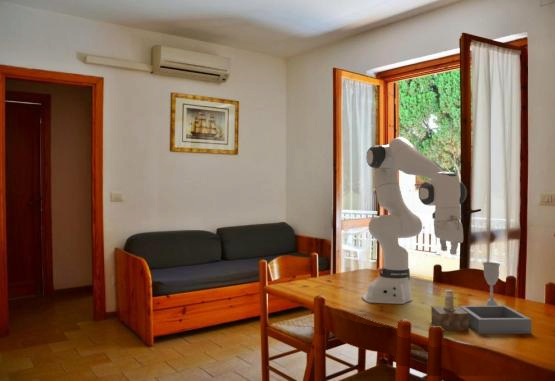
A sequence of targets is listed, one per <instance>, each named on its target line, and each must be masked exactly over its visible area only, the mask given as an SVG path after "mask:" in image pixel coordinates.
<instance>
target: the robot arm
mask: <svg viewBox="0 0 555 381" xmlns="http://www.w3.org/2000/svg"><path fill="white" fill-rule="evenodd" d="M365 159H366V162H367V164H368V166H369V167H370V168H374V169H375V170H374V187H375V192H376V197H377V202H378V205H379V206H380V207H381V208H382V209H384V210H386V211H387V212H388V213H389V214H380V215H376V216H373V217H372V218H371V219H370V220H369V223H368V230H369V231H368V232H369V233H370V235H371V236H372V237H373V238H374V239H375V240H376V241H377V243H379V245H380V247H381V251H382V255H383V257H382V258H383V267H382V268H381V267H377V269H376V271H377V272H378V274H379V275H378V276H377V277H376V278H375V279H374V280H372V281H371V282H370V283H369V284H368V286H367V291H366V293H363V294H362V300H363V301H365V302H366V303H373V304H375V303H376V304H395V305H397V304H398V305H403V304H406V303H409V302H412V301H413V295H412V292H411V285H410V278H411V270H410V268H409V252H408V251H407V249H406V248H404V247H403V246H401V245H400V244H399V240H398V239H403V238H404V239H407V238H413V237H417V236H419V235H420V234H421V232H422V230H423V222H422V220H421V219H420V217H419V216H417V215H416V214H415V213H414V212H413V211H411V210H410V209H409V208H408V205H406V203H405V201H404V199H403V195H402V191H401V188H400V184H399V179H398V171H400V172H402V173H404V174H406V175H410V176H419V177H425V178H428V179H430V180H428V181H424V182H423V183H422V184H421V185H420V186H419V187H418V199H419V200H420V202H421V203H422V204H423V205H425V206H430V207H431V206H432V207H433V206H434V211H433V212H432V215H431V216H432V220H433V231H434V236H435V238H436V239H439V244H440V250H441V251H442V252H447V251H448V246H447V242H450V249H449V254H450V255H453V256H455V255H457V250H458V246H459V244H462V243H463V242H464V228H463V224H462V221H461V220H462V210H461V209H462V208H461V207H462V206H461V205H462V204H463V203H464V202H465V200H466V199H467V196H468V190H467V188H466V185H465V183H463V182H462V181H461V180H460V176H459V175H458V174H457V173H456V172H453V171H446V170H445V169H444V168H443V167H442V166H440V165H439V164H438V163H437V162H436V161H434V160H433V159H431V158H429V157H428V156H426V155H424V154H423V153H422V152H420V150H419V149H417V147H416V146H415V145H414V144H413V143H412V142H411V141H409V140H408V139H407V138H405V137H395V138H393V139H392V140H391V141H389V144H384V145H383V144H382V145H373V146H370V147H369V148H368V150H367V151H366V158H365Z"/></svg>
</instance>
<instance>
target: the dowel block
mask: <svg viewBox="0 0 555 381" xmlns="http://www.w3.org/2000/svg"><path fill="white" fill-rule="evenodd" d="M459 306H460V305H454V311H445V305H431V309H430V311H431V323H432V324H433V325H434V324H435V325H437V326H441V327H442V328H443V329H444V330H443V331H469V328H470V326H469V317H468V313H467V312H466V311H464V310H463V309H461V308H460V307H459ZM435 325H434V326H435Z"/></svg>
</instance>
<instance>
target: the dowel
mask: <svg viewBox="0 0 555 381" xmlns="http://www.w3.org/2000/svg"><path fill="white" fill-rule="evenodd" d="M454 304H455V303H454V290H452V289H444V306H445V311H454V306H455V305H454Z"/></svg>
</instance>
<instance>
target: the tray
mask: <svg viewBox="0 0 555 381" xmlns="http://www.w3.org/2000/svg"><path fill="white" fill-rule="evenodd" d="M458 306H459V307H460V308H461V309H463V310H464V311H466V312H467V313H468V317H469V328H470V329H472V330H473V331H475V332H476V333H478V334H479V335H482V334H483V335H500V334H501V335H503V334H505V335H506V334H507V335H511V334H512V335H513V334H516V335H519V334H520V335H521V334H523V335H524V334H525V335H528V334H529V335H530V334H532V333H533V332H532V331H533V330H532V319H531V318H530V317H528V316H526V315H524V314H523V313H521V312H520V311H519V312H518V311H517V310H515V309H514V308H511V307H509V306H508V305H506V304H505V305H498V306H486V305H458Z"/></svg>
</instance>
